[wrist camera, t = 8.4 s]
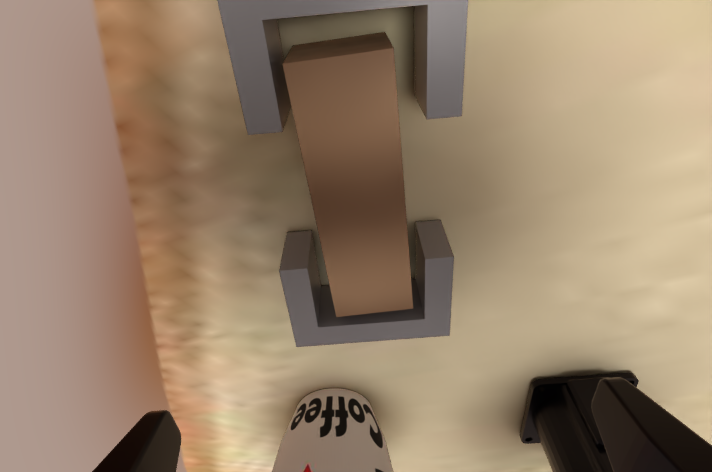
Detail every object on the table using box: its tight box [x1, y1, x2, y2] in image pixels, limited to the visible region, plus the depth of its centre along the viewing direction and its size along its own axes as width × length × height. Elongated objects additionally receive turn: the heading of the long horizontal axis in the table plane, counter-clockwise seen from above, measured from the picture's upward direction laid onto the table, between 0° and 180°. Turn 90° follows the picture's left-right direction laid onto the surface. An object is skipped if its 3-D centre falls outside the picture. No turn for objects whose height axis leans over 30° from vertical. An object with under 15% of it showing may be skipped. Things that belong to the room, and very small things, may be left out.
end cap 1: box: [217, 0, 468, 135], centre depth 15 cm, size 5×7×3 cm, turn 95°
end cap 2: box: [279, 220, 454, 347], centre depth 21 cm, size 5×7×3 cm, turn 95°
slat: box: [283, 32, 413, 317], centre depth 18 cm, size 11×4×4 cm, turn 7°
